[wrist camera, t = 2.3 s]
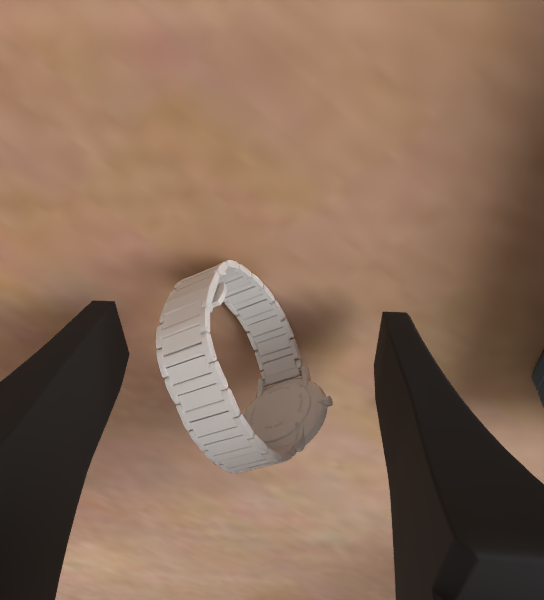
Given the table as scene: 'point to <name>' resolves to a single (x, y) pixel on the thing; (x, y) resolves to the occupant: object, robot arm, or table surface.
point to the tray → (539, 378)
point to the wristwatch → (211, 381)
